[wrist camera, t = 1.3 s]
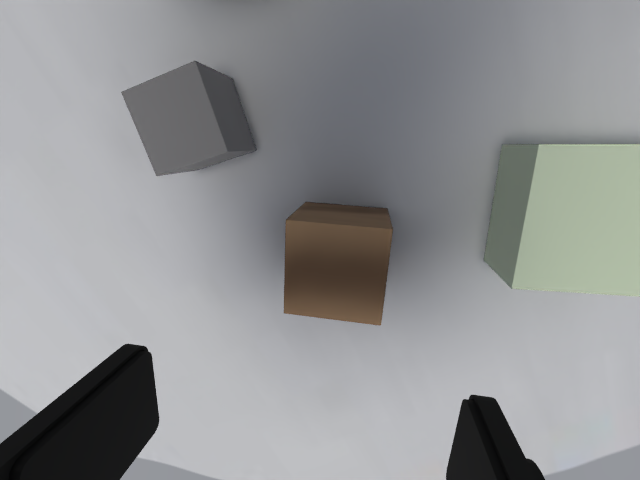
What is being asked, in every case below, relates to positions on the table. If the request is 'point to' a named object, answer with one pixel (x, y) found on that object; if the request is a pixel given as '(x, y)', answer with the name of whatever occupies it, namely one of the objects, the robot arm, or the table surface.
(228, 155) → the charcoal block
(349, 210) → the walnut cube
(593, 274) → the sage block
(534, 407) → the table surface
